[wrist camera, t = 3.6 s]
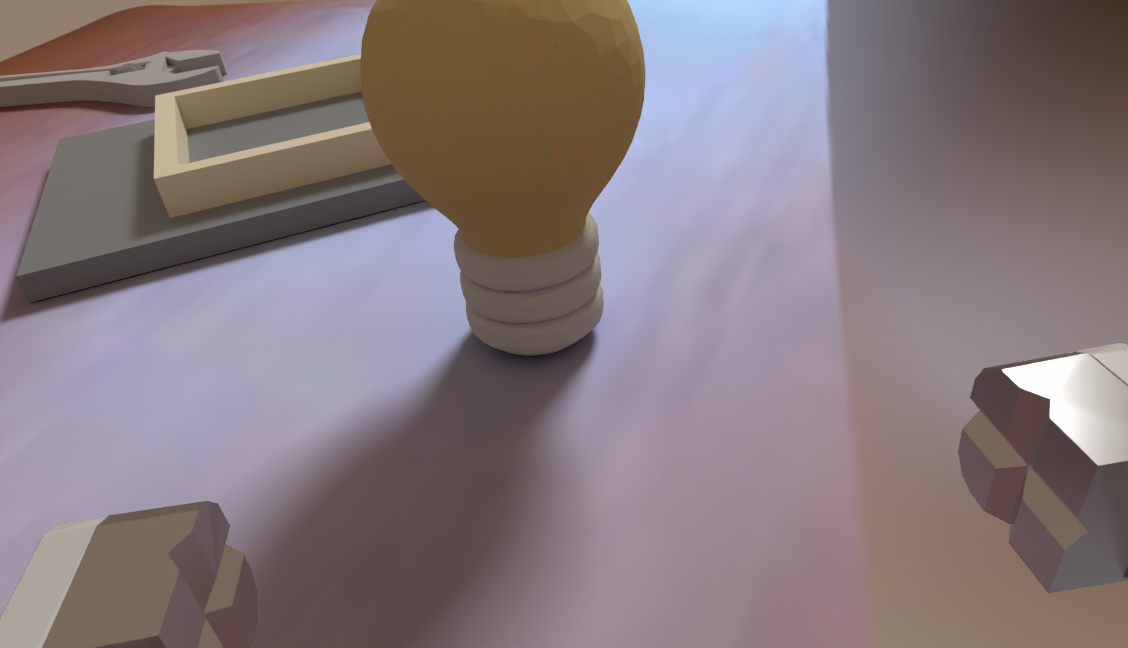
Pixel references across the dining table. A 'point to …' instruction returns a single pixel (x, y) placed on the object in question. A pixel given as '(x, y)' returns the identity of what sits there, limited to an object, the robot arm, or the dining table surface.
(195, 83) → the adjustable wrench
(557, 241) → the light bulb
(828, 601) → the dining table surface
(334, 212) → the board
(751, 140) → the dining table surface
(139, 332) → the dining table surface
